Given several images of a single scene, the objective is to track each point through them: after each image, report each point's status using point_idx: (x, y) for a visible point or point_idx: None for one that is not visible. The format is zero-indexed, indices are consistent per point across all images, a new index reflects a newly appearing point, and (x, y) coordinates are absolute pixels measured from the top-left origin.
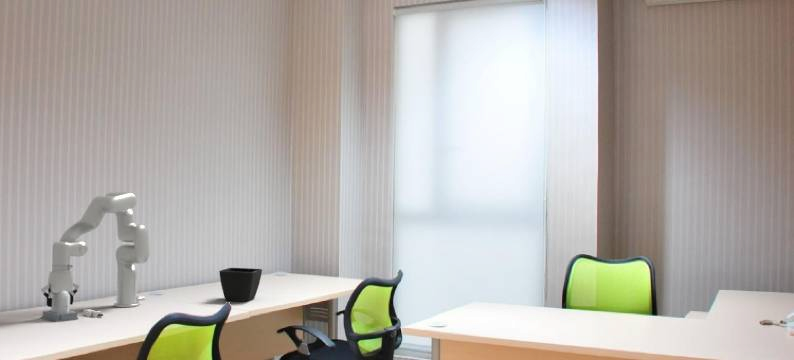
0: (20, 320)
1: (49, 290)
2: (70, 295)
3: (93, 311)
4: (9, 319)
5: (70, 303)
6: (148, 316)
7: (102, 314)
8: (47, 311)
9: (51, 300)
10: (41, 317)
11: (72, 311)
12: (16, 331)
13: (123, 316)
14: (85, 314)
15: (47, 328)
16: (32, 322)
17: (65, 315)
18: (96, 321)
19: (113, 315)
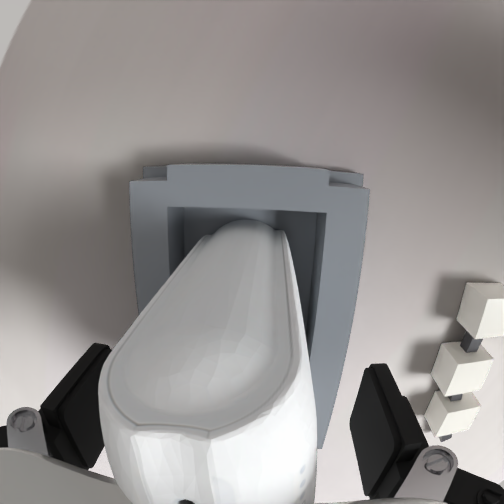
0: (19, 170)
1: (2, 470)
2: (383, 488)
3: (469, 389)
4: (2, 85)
5: (353, 420)
6: (500, 472)
7: (445, 439)
8: (152, 245)
9: (93, 453)
10: (147, 168)
11: (326, 406)
12: (4, 418)
13: (485, 445)
14: (461, 313)
15: (95, 467)
16: (51, 305)
17: None
18: (333, 492)
19: (498, 406)
